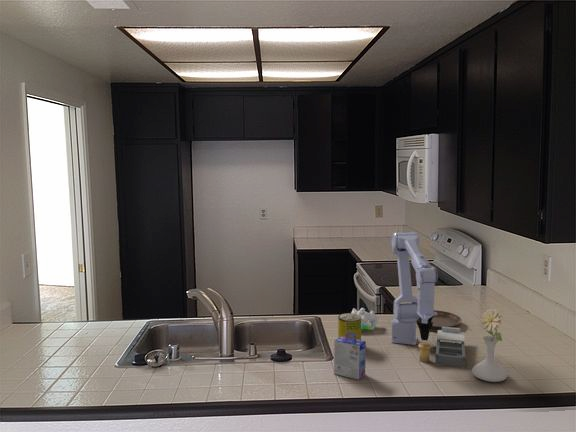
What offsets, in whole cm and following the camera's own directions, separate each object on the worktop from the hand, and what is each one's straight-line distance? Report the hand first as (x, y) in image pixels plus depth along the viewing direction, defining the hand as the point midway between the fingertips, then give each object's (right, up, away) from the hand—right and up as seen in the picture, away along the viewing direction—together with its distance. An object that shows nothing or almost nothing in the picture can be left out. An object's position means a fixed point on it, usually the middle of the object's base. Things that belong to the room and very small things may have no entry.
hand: (425, 336), depth 188 cm
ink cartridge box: (-29, -11, -9) cm, 32 cm away
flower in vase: (+18, -11, -14) cm, 26 cm away
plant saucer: (+16, -4, +40) cm, 43 cm away
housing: (+11, -9, +5) cm, 15 cm away
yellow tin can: (-26, -8, +16) cm, 31 cm away
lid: (+14, -4, +14) cm, 20 cm away
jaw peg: (0, -9, +1) cm, 9 cm away
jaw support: (-18, -5, +35) cm, 40 cm away
